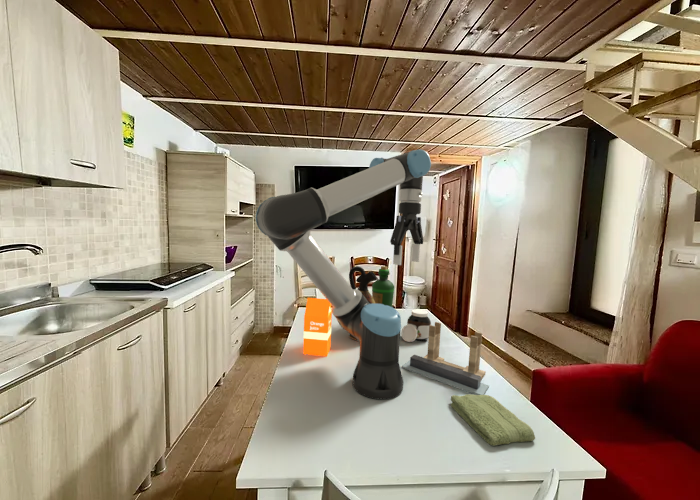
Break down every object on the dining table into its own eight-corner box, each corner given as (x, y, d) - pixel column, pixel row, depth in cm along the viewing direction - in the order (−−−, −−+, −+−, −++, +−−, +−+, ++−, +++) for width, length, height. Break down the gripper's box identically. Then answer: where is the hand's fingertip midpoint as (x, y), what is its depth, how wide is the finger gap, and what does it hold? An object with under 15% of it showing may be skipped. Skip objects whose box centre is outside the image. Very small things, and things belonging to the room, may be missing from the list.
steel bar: (477, 389, 89) (478, 380, 89) (409, 365, 103) (410, 357, 102) (480, 385, 92) (481, 376, 91) (413, 362, 105) (414, 354, 105)
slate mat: (482, 397, 87) (482, 395, 87) (401, 367, 103) (401, 365, 102) (488, 387, 92) (489, 385, 92) (411, 360, 108) (411, 359, 108)
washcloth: (487, 399, 86) (488, 388, 86) (538, 444, 69) (540, 430, 69) (446, 403, 84) (447, 392, 83) (488, 451, 66) (489, 437, 66)
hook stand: (480, 381, 96) (483, 339, 94) (421, 361, 108) (423, 324, 107) (485, 374, 100) (488, 334, 99) (428, 356, 112) (430, 320, 111)
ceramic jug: (381, 333, 134) (384, 266, 131) (375, 346, 119) (379, 271, 116) (344, 328, 138) (346, 263, 135) (334, 341, 123) (336, 268, 120)
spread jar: (430, 336, 133) (431, 310, 132) (430, 346, 122) (431, 318, 121) (402, 332, 136) (404, 307, 135) (400, 342, 125) (401, 314, 124)
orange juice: (326, 356, 109) (328, 302, 107) (302, 354, 110) (304, 300, 108) (330, 347, 116) (332, 296, 115) (308, 345, 117) (309, 295, 116)
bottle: (371, 319, 152) (373, 264, 150) (392, 321, 151) (395, 265, 148) (369, 326, 142) (372, 267, 139) (392, 328, 140) (395, 268, 138)
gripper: (402, 199, 93) (398, 267, 95) (434, 205, 113) (431, 261, 115) (381, 199, 98) (378, 264, 100) (416, 205, 117) (412, 259, 119)
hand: (406, 263), depth 107 cm, fingers open, 13 cm apart
